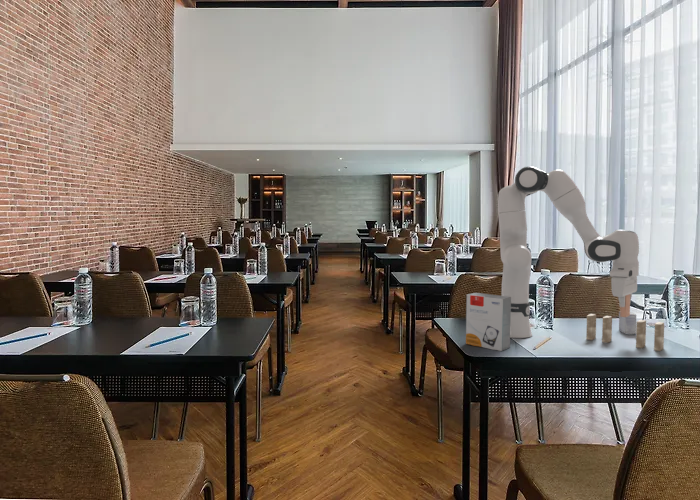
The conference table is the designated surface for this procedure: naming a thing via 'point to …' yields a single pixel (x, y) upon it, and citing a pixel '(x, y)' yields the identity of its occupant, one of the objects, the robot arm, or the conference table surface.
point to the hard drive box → (488, 321)
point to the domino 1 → (591, 327)
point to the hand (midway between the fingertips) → (624, 305)
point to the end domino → (659, 336)
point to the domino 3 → (625, 310)
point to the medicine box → (628, 324)
